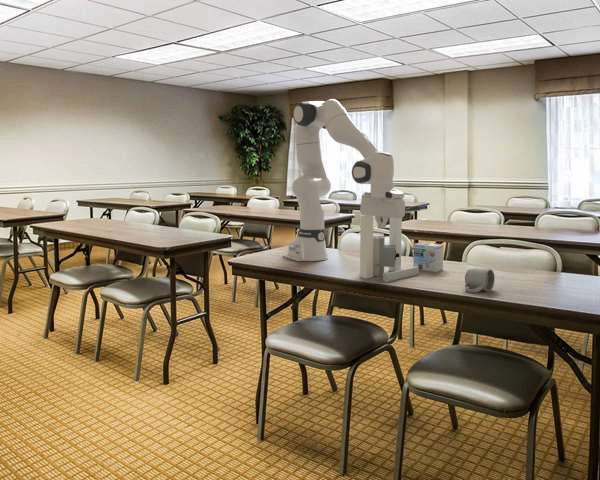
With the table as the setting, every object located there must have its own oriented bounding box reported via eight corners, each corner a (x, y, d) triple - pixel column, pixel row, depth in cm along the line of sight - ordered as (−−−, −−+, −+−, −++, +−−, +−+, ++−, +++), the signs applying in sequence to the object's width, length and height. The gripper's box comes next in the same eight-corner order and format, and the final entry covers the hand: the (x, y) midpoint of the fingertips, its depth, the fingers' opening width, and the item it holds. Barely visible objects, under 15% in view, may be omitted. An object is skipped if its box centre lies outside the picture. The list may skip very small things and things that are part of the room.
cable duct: (382, 281, 201) (383, 273, 200) (414, 273, 214) (414, 266, 214) (387, 281, 199) (387, 274, 199) (418, 274, 213) (418, 266, 212)
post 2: (388, 270, 220) (389, 212, 217) (394, 269, 223) (395, 212, 219) (395, 271, 218) (396, 213, 214) (400, 270, 220) (401, 212, 217)
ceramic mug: (472, 285, 192) (473, 264, 191) (494, 289, 187) (495, 267, 186) (458, 291, 185) (459, 269, 184) (481, 295, 179) (482, 273, 178)
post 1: (360, 277, 208) (360, 216, 205) (365, 275, 211) (366, 215, 207) (366, 278, 206) (367, 216, 202) (372, 277, 208) (373, 216, 205)
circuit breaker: (398, 276, 209) (399, 238, 207) (362, 275, 212) (362, 237, 210) (399, 272, 216) (399, 236, 214) (364, 271, 219) (364, 235, 217)
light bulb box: (412, 268, 224) (413, 243, 222) (420, 266, 228) (421, 241, 227) (435, 272, 216) (436, 246, 215) (443, 269, 221) (444, 244, 220)
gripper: (356, 192, 215) (356, 226, 217) (397, 194, 200) (397, 230, 202) (367, 191, 219) (366, 225, 221) (407, 193, 204) (407, 229, 206)
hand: (381, 227), depth 212 cm, fingers closed
